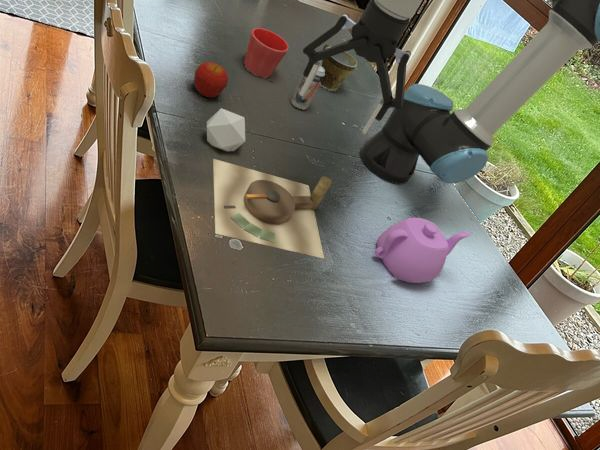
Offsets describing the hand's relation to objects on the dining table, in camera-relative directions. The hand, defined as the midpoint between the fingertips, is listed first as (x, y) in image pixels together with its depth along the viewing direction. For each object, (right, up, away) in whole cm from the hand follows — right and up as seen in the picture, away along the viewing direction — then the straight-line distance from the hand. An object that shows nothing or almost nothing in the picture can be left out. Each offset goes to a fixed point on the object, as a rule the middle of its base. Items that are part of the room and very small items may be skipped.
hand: (333, 111), depth 109 cm
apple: (-29, +10, +30) cm, 43 cm away
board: (-13, -18, +7) cm, 24 cm away
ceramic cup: (+1, +21, +64) cm, 67 cm away
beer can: (-7, +11, +46) cm, 48 cm away
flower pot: (-18, +21, +51) cm, 58 cm away
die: (-24, -4, +17) cm, 30 cm away
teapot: (+16, -30, +15) cm, 37 cm away
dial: (-10, -17, +8) cm, 22 cm away
